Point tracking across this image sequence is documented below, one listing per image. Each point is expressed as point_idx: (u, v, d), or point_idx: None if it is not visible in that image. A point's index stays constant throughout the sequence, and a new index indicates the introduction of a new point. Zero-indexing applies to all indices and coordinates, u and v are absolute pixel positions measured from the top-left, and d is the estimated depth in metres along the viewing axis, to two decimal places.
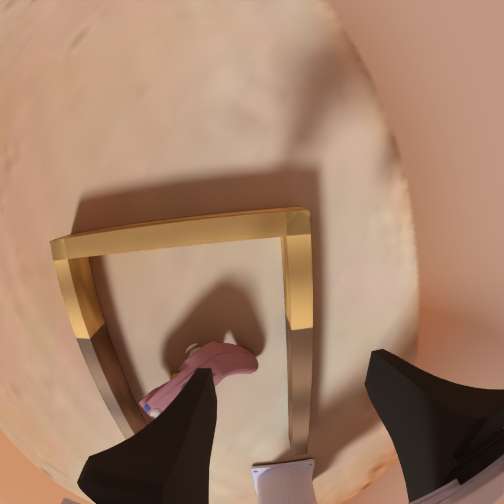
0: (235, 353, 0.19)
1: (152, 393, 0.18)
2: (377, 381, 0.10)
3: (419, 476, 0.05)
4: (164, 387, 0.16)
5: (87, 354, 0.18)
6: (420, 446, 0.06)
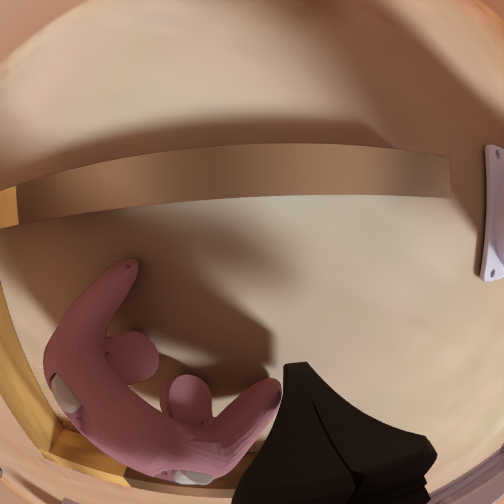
0: None
1: None
2: None
3: None
4: (101, 450, 0.07)
5: (149, 487, 0.11)
6: None
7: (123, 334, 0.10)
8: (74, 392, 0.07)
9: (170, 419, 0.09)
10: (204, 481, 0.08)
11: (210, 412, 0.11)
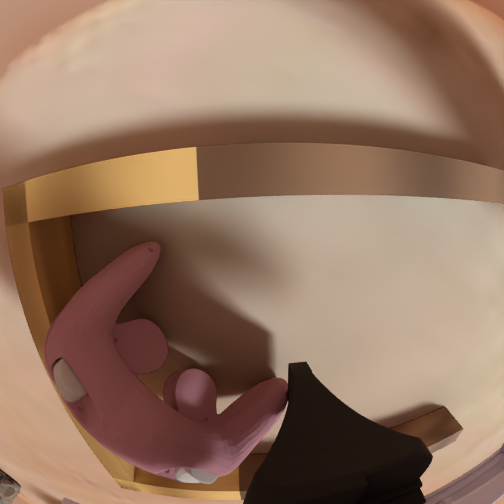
0: (77, 291, 0.08)
1: None
2: None
3: None
4: (101, 444, 0.07)
5: None
6: None
7: (133, 321, 0.10)
8: (80, 381, 0.06)
9: (179, 414, 0.08)
10: (209, 479, 0.07)
11: (214, 409, 0.11)
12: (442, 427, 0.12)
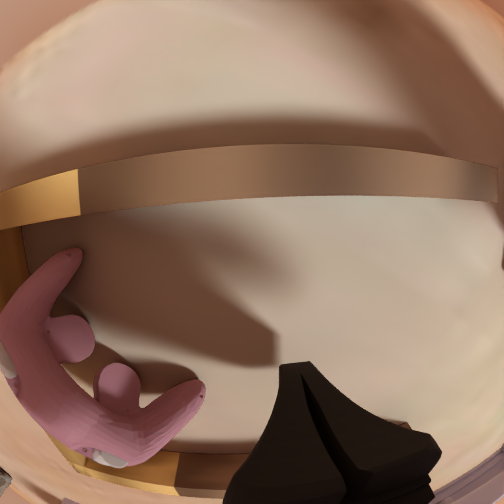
0: (17, 289, 0.08)
1: None
2: None
3: None
4: (33, 417, 0.07)
5: (201, 494, 0.11)
6: None
7: (65, 316, 0.10)
8: (12, 360, 0.07)
9: (92, 400, 0.08)
10: (118, 464, 0.08)
11: (136, 402, 0.11)
12: None
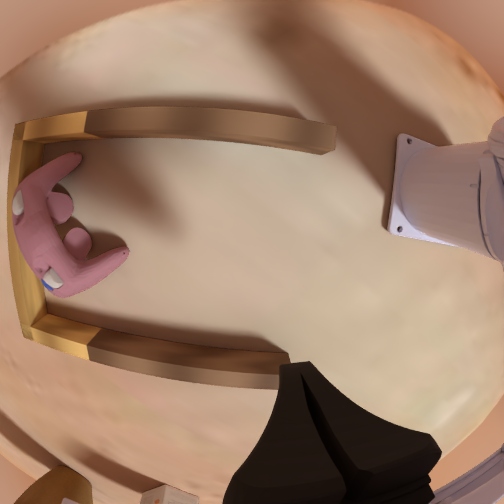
0: None
1: None
2: None
3: None
4: (18, 244, 0.13)
5: (104, 359, 0.18)
6: None
7: (60, 193, 0.17)
8: (23, 200, 0.13)
9: None
10: (57, 280, 0.14)
11: (84, 256, 0.17)
12: (271, 365, 0.19)
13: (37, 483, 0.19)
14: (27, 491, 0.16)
